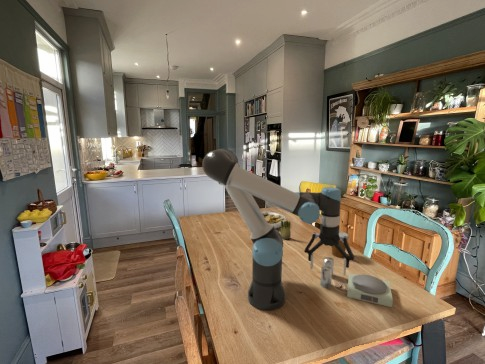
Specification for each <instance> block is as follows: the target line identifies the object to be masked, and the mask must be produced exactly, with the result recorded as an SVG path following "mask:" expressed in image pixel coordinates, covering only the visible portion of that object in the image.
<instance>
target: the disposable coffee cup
mask: <svg viewBox="0 0 485 364" xmlns="http://www.w3.org/2000/svg"><path fill="white" fill-rule="evenodd" d="M339 236H340V237H344V236H346V237H347V242H349V241H348V240H349V238H350V236H349V234H348V233H346V232H345V231H340V230H339ZM338 243H339V244H340V246H341V247H342V248H343V249H344V251H345V252H346V251H347V250H346V248H345V245H344V243H343V242H342V241H341V240H339V241H338ZM331 254H332V256H334V257H337V258H344V257H343V255H342V254H341V253H340V252H339V250H338V249H337V248H336V247H335V246H331Z"/></svg>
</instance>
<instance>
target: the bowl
mask: <svg viewBox="0 0 485 364" xmlns="http://www.w3.org/2000/svg"><path fill="white" fill-rule="evenodd" d="M261 212H262V214H263V215H264V217H265V219H266V221H267V223H269V224H272V225H273V226H274V228H275V230H277V229H279V228H281V221H282V220H283V226H284V221H287V220H286V216H285V215H283V214H281V213H278V212H274V211H265V210H264V211H262V210H261Z"/></svg>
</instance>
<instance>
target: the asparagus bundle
mask: <svg viewBox="0 0 485 364" xmlns="http://www.w3.org/2000/svg"><path fill="white" fill-rule="evenodd" d="M280 234H281V236H282V239H283V240H289V239H291V235H292V234H291V221H290V220H285V221H284V225H283V220H282V221H281V227H280Z"/></svg>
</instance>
